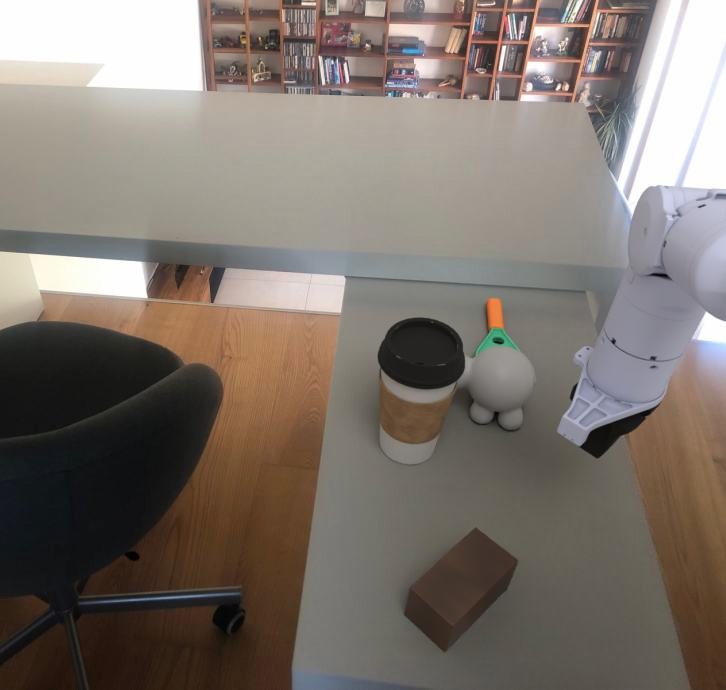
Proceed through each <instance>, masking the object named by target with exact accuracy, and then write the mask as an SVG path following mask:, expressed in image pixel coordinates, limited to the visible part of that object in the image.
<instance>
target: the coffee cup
mask: <svg viewBox="0 0 726 690" xmlns="http://www.w3.org/2000/svg"><path fill="white" fill-rule="evenodd" d="M464 354H465V351H464V343H463V340H462V337H461V336H460V334H459V333H458V331H456V330H455V328H453V327H451V326H450V325H449V324H447V323H445V322H443V321H441V320H439V319H434V318H430V317H421V316H420V317H419V316H418V317H408V318H404V319H402V320H399V321H398V322H396V323H394V324H392V325H391V326H390V327H389V329H388V330H387V331H386V334H385V336H384V339H383V340H382V341H381V343H380V345H379V348H378V351H377V357H376V358H377V362H378V365H379V371H378V397H379V398H378V399H379V401H378V403H379V405H378V406H379V446H380V449H381V450H382V452H383V453H384V454H385V456H386V457H388V458H389V459H390V460H392V461H393V462H395V463H399V464H402V465H409V466H411V465H419V464H422V463H424V462H426V461H427V460H429V459H430V458H431V457H432V455H433V454H434V452H435V449H436V446H437V443H438V439H439V437H440V434H441V432H442V429H443V426H444V424H445V421H446V418H447V415H448V413H449V410H450V407H451V405H452V401H453V399H454V396H455V393H456V390H457V389H456V388H457V384H458V379H459V378H460V377H461V376H462V374H463V373H464V369H465V355H466V354H465V355H464Z"/></svg>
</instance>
